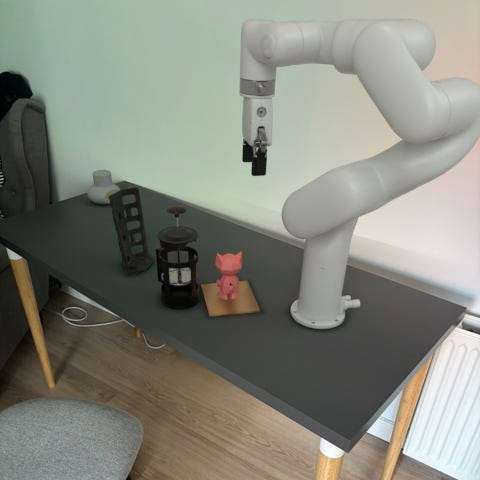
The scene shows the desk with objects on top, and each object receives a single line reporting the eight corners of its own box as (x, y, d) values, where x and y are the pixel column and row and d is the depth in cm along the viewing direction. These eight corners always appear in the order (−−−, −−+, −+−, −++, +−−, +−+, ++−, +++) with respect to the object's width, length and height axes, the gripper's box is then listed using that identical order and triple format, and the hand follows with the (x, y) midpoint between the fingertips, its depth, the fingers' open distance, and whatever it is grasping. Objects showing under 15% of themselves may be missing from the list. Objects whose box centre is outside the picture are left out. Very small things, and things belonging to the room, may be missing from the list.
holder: (143, 277, 130) (128, 201, 119) (115, 276, 132) (98, 201, 121) (157, 258, 139) (145, 186, 128) (131, 257, 141) (117, 186, 130)
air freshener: (108, 194, 178) (105, 165, 172) (125, 200, 174) (123, 171, 168) (84, 203, 170) (79, 173, 164) (101, 209, 166) (97, 179, 161)
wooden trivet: (247, 282, 130) (247, 280, 130) (260, 312, 119) (260, 310, 119) (200, 285, 128) (200, 284, 128) (209, 316, 117) (209, 314, 116)
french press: (210, 298, 123) (209, 207, 110) (184, 315, 117) (180, 221, 104) (173, 282, 129) (169, 195, 116) (147, 298, 122) (139, 207, 109)
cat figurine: (239, 287, 127) (241, 244, 120) (246, 302, 121) (248, 257, 115) (211, 290, 125) (211, 246, 118) (217, 305, 120) (217, 259, 113)
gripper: (285, 95, 101) (279, 180, 111) (264, 80, 115) (260, 156, 124) (248, 96, 100) (245, 181, 109) (232, 80, 113) (230, 157, 123)
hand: (253, 168), depth 117 cm, fingers open, 9 cm apart
